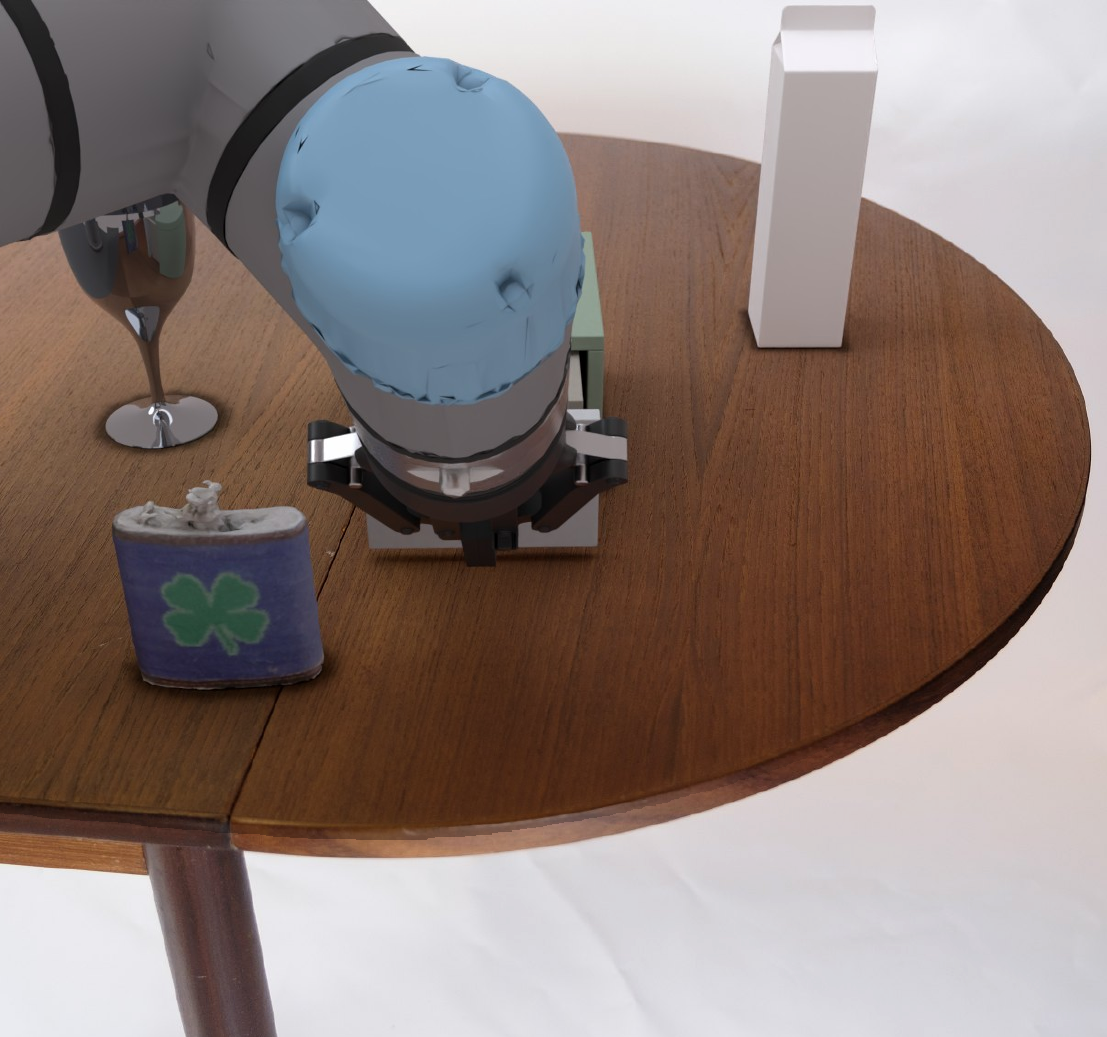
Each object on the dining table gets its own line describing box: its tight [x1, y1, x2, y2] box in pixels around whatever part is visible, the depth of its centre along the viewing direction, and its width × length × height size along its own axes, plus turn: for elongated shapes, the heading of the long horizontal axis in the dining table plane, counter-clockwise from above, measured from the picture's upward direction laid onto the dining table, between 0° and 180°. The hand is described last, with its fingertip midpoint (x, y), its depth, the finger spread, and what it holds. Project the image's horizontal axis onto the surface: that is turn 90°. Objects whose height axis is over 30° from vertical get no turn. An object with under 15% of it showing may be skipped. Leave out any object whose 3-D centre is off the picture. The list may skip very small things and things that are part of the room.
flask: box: [111, 479, 325, 691], centre depth 69 cm, size 9×3×11 cm, turn 91°
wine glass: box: [57, 193, 219, 449], centre depth 89 cm, size 8×8×15 cm
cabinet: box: [571, 231, 605, 419], centre depth 90 cm, size 16×14×10 cm
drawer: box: [365, 350, 601, 550], centre depth 81 cm, size 19×13×8 cm, turn 1°
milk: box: [747, 4, 879, 348], centre depth 98 cm, size 6×6×22 cm
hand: (481, 540), depth 73 cm, fingers closed
